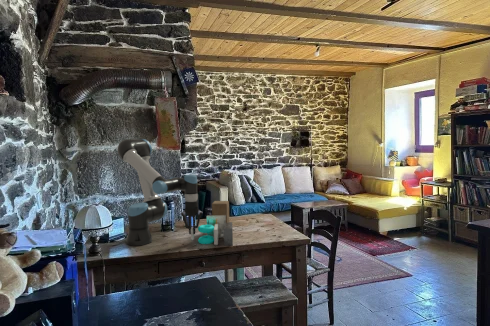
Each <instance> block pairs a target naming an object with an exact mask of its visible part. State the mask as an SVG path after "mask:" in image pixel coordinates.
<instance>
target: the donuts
mask: <svg viewBox="0 0 490 326" xmlns="http://www.w3.org/2000/svg"><path fill="white" fill-rule="evenodd" d="M197 231H198V232H200V233H201V234H205V235H201V236H200V237H198V240H197V242H198V243H199V244H201V245H211V244H214V237H213V236H210V235H207V233H210V232H212V231H214V226H213V225H207V224H201V225H199V226H198V228H197Z"/></svg>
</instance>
